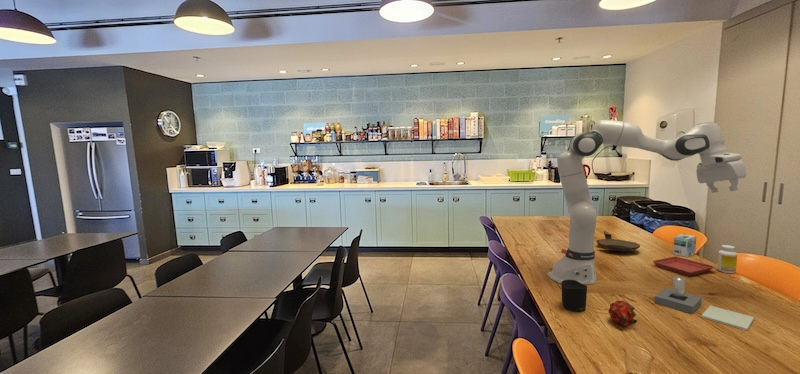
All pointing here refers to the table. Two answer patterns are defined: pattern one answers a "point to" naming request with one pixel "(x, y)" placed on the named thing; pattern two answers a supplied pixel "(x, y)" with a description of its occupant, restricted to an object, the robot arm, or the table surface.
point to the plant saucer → (683, 266)
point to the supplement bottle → (727, 259)
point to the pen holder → (573, 295)
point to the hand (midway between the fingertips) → (724, 191)
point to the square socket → (678, 301)
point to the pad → (728, 317)
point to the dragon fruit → (622, 313)
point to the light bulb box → (684, 245)
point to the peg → (678, 288)
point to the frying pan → (616, 244)
